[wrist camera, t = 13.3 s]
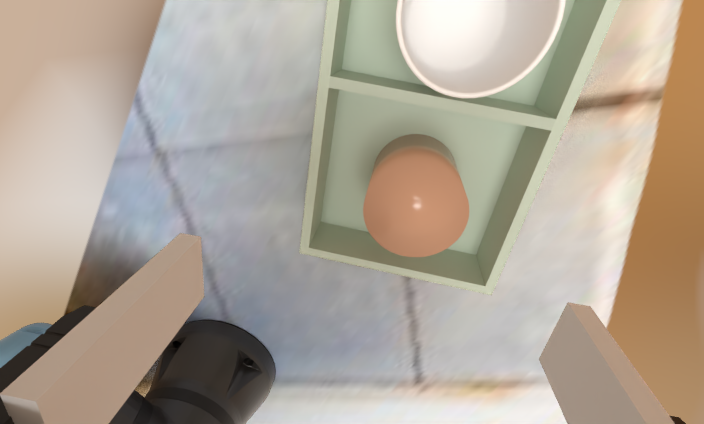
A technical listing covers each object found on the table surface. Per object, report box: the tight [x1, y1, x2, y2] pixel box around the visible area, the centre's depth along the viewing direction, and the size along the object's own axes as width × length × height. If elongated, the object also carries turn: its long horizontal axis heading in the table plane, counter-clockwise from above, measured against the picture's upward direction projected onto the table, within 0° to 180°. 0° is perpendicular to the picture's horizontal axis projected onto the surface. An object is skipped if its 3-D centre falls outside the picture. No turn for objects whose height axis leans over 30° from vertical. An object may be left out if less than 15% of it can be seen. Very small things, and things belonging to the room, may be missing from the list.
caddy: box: [299, 0, 621, 295], centre depth 28 cm, size 18×30×6 cm, turn 171°
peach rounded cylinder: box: [363, 134, 469, 257], centre depth 30 cm, size 8×8×8 cm
